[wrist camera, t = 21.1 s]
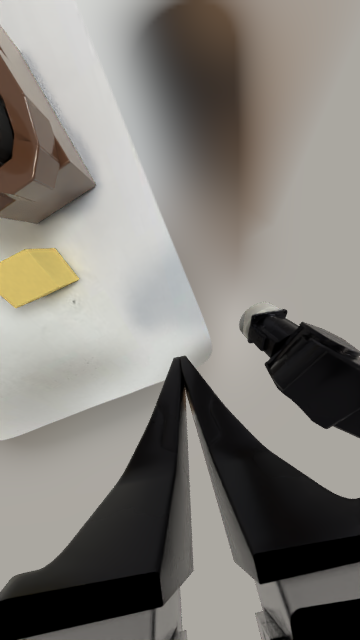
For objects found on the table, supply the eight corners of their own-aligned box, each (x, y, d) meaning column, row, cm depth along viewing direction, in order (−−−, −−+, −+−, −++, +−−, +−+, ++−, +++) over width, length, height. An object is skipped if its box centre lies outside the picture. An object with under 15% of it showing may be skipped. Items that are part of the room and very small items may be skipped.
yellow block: (55, 248, 16) (25, 248, 12) (79, 279, 18) (59, 287, 14) (14, 268, 16) (-25, 274, 13) (43, 296, 18) (15, 308, 15)
